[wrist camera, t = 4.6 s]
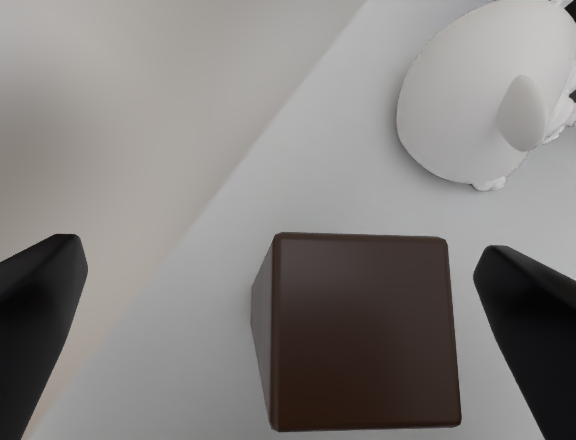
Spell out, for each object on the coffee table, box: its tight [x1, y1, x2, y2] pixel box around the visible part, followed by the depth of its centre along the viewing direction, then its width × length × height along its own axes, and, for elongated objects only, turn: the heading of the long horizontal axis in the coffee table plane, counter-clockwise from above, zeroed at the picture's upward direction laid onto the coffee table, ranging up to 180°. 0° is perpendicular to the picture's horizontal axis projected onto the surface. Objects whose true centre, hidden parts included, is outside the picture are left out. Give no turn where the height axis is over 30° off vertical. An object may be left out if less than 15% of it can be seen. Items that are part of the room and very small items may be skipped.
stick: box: [251, 232, 462, 432], centre depth 9 cm, size 2×2×12 cm
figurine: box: [397, 0, 576, 191], centre depth 14 cm, size 8×6×7 cm
